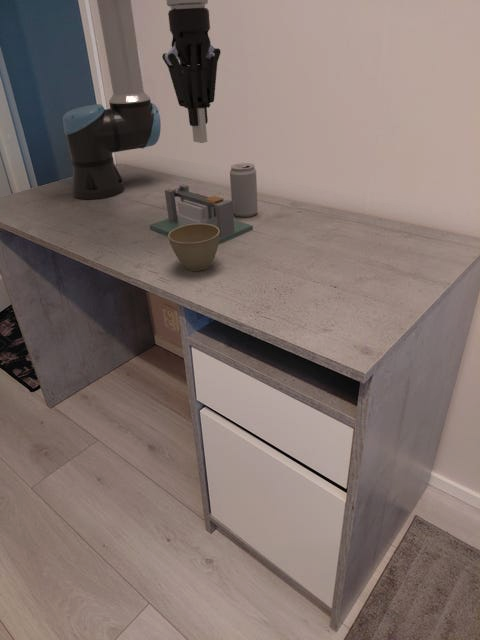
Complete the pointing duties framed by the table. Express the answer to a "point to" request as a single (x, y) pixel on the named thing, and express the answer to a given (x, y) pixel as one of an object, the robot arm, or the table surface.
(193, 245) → the flower pot
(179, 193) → the grey long bar
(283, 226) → the table surface
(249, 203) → the beverage can
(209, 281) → the table surface
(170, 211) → the board
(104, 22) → the robot arm
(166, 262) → the table surface
